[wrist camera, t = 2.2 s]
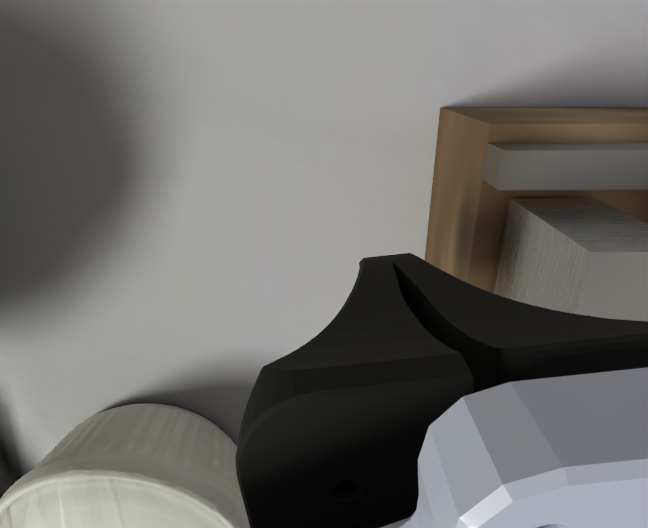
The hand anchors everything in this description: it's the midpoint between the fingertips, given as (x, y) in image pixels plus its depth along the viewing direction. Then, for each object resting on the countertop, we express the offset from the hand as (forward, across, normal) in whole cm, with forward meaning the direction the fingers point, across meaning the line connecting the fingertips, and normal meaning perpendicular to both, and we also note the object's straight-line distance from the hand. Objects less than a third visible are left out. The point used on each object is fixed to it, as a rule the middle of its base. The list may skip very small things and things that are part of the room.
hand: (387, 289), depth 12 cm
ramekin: (+7, +12, +13) cm, 19 cm away
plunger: (+2, -5, 0) cm, 5 cm away
